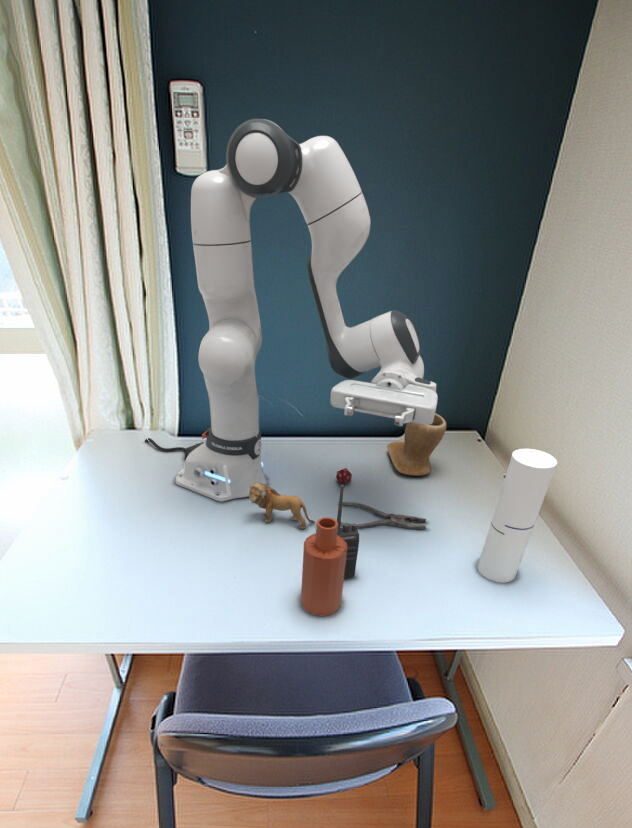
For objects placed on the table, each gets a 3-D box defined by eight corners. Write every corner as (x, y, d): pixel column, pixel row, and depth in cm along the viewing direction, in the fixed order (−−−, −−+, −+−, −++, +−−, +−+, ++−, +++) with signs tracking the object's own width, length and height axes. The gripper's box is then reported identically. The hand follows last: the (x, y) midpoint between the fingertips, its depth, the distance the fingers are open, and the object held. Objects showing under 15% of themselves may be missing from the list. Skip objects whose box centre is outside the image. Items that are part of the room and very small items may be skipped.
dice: (354, 485, 127) (356, 471, 125) (338, 488, 126) (339, 474, 124) (347, 478, 130) (349, 464, 128) (331, 481, 129) (333, 467, 127)
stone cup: (441, 479, 131) (453, 425, 122) (394, 478, 131) (403, 424, 122) (427, 452, 143) (438, 401, 134) (385, 451, 143) (393, 400, 134)
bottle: (295, 609, 91) (298, 529, 81) (309, 584, 97) (314, 506, 87) (333, 620, 89) (341, 540, 79) (345, 594, 95) (354, 516, 85)
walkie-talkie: (332, 581, 98) (341, 492, 86) (327, 570, 100) (335, 482, 89) (356, 578, 99) (368, 489, 87) (350, 567, 101) (361, 479, 90)
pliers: (334, 500, 120) (419, 502, 120) (333, 503, 120) (419, 505, 120) (337, 524, 112) (428, 526, 112) (336, 527, 112) (427, 529, 112)
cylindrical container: (511, 587, 97) (553, 472, 83) (473, 573, 100) (508, 460, 86) (518, 567, 102) (560, 455, 88) (482, 554, 105) (517, 445, 91)
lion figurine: (246, 524, 113) (245, 489, 108) (251, 511, 117) (251, 476, 112) (313, 531, 111) (315, 495, 106) (315, 517, 115) (318, 483, 110)
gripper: (343, 367, 104) (320, 390, 94) (444, 384, 98) (431, 410, 88) (340, 397, 108) (318, 422, 98) (438, 415, 102) (425, 443, 92)
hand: (372, 416), depth 93 cm, fingers open, 8 cm apart
